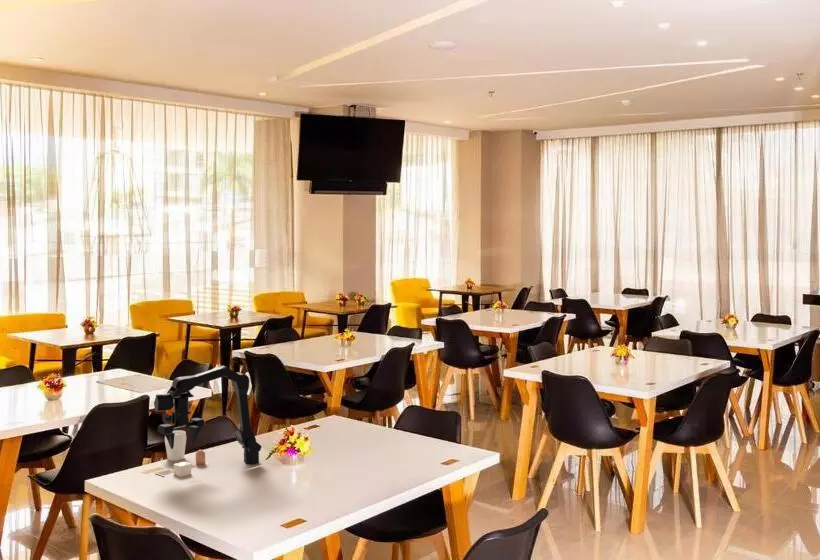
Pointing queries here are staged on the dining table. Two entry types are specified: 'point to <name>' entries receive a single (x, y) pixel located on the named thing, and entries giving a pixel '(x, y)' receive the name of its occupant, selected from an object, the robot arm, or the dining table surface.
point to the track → (173, 470)
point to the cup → (176, 446)
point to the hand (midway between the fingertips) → (182, 446)
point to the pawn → (200, 457)
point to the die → (182, 469)
